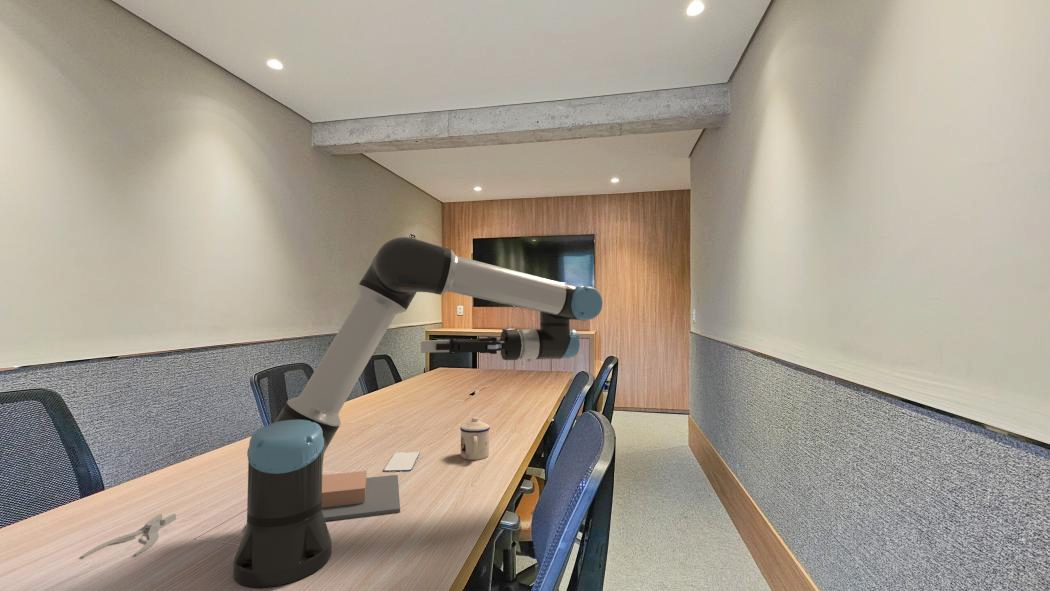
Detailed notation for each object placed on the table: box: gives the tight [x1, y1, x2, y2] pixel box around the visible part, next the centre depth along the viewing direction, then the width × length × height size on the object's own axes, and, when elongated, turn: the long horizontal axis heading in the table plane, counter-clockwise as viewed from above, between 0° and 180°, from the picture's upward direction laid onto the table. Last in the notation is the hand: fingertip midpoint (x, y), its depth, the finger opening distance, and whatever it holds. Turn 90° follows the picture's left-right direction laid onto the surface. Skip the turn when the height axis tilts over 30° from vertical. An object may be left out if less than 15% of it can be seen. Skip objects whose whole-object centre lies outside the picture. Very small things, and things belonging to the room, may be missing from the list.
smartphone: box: [383, 451, 421, 472], centre depth 133 cm, size 8×1×16 cm
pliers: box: [80, 513, 177, 559], centre depth 88 cm, size 10×2×15 cm
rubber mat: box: [244, 474, 401, 529], centre depth 105 cm, size 22×30×1 cm
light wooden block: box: [322, 470, 368, 508], centre depth 105 cm, size 12×3×18 cm
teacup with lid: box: [460, 416, 491, 461], centre depth 138 cm, size 12×9×12 cm
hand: (421, 346), depth 105 cm, fingers closed
